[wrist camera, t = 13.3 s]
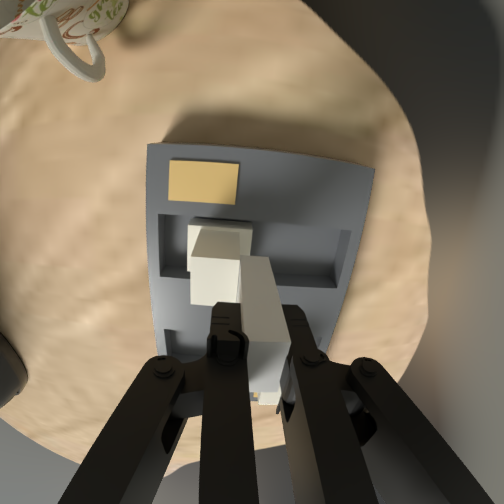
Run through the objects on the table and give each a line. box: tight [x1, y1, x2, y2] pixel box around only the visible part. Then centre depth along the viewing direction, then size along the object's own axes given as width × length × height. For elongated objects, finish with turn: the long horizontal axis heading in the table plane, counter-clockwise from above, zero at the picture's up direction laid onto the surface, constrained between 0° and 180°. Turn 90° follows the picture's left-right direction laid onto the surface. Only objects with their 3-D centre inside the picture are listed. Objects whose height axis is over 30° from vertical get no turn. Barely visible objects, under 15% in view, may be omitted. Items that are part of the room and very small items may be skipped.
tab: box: [187, 218, 253, 306], centre depth 16 cm, size 4×3×6 cm
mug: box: [0, 0, 129, 82], centre depth 9 cm, size 8×13×10 cm, turn 25°
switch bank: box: [146, 142, 375, 401], centre depth 21 cm, size 14×22×3 cm, turn 174°
